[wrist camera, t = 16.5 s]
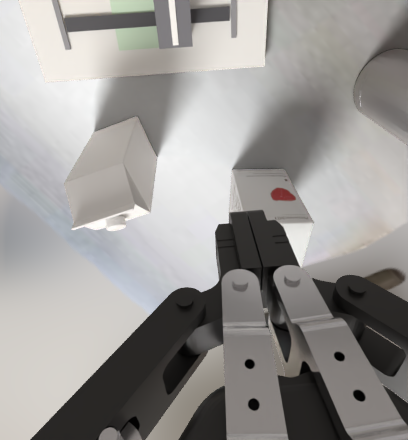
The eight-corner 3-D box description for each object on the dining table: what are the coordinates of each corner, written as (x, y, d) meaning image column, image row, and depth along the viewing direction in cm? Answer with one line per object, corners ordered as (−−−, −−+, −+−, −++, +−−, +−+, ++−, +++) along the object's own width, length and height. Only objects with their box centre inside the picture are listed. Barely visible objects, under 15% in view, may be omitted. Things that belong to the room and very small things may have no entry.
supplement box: (285, 167, 52) (317, 221, 40) (277, 212, 57) (303, 272, 45) (230, 167, 52) (246, 223, 40) (227, 213, 57) (239, 274, 45)
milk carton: (93, 131, 47) (51, 203, 31) (137, 115, 46) (116, 180, 30) (116, 172, 51) (89, 253, 36) (157, 157, 50) (148, 234, 35)
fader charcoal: (187, -8, 36) (189, -6, 31) (190, 38, 38) (192, 46, 33) (156, -6, 35) (152, -4, 31) (161, 40, 38) (159, 49, 33)
